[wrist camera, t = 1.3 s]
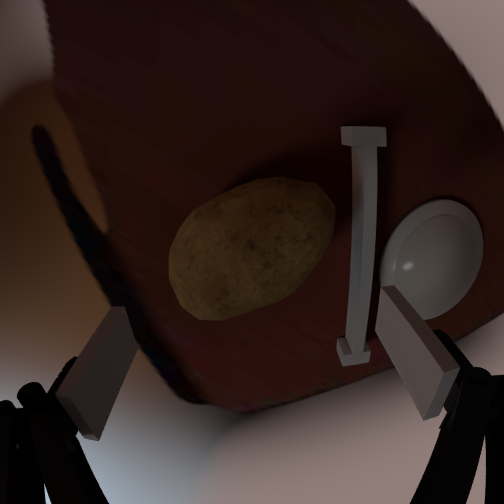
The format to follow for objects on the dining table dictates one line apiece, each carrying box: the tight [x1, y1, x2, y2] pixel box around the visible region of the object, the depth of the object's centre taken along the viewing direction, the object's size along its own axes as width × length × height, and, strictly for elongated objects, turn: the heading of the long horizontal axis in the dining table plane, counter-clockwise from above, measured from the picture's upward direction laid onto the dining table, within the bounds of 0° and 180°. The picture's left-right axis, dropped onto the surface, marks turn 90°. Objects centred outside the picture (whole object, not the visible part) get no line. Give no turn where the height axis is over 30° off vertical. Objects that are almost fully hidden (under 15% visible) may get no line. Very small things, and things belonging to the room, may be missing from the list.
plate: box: [379, 199, 483, 320], centre depth 29 cm, size 14×14×1 cm
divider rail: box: [337, 126, 387, 366], centre depth 27 cm, size 24×3×3 cm, turn 5°
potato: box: [169, 177, 335, 320], centre depth 24 cm, size 10×14×8 cm
